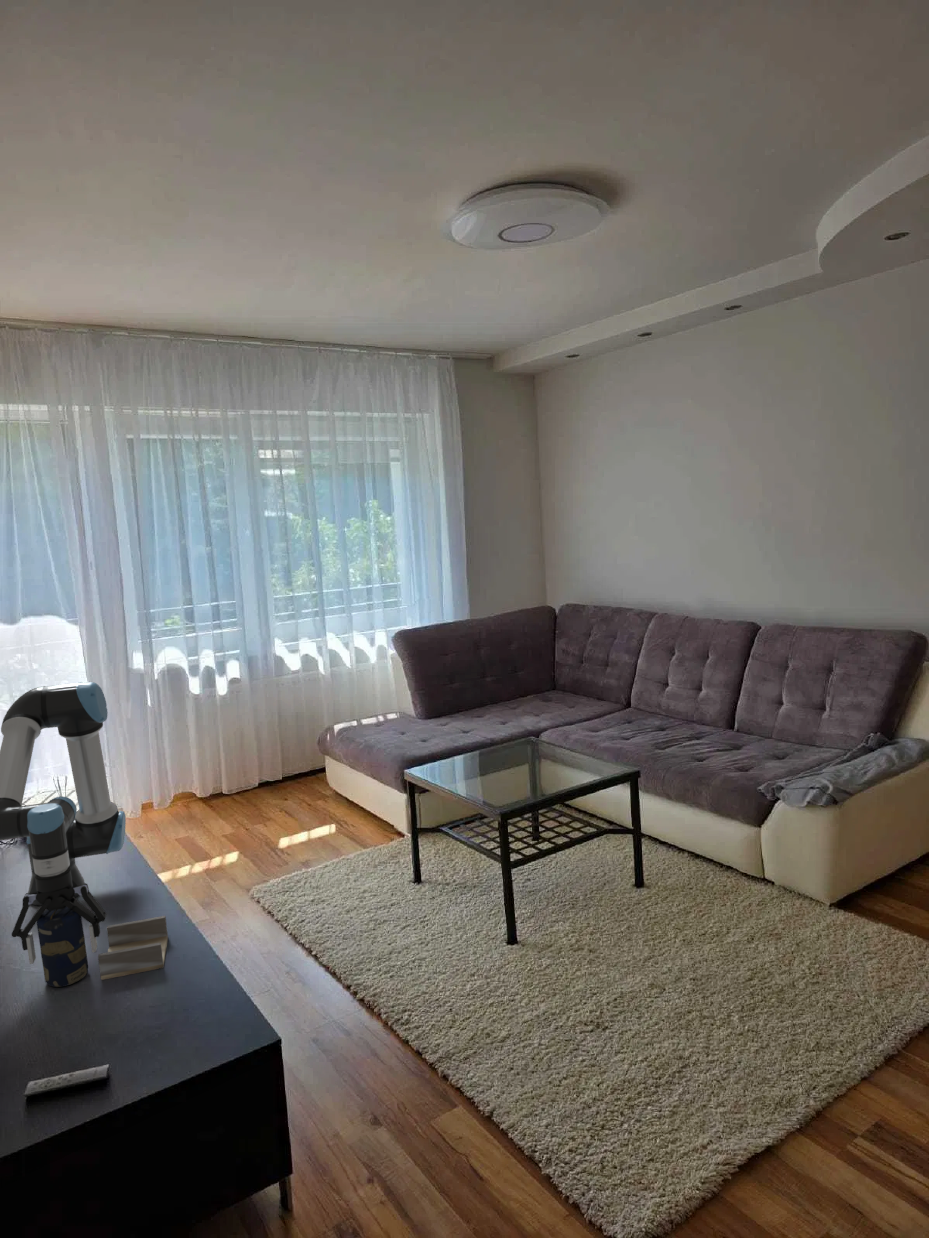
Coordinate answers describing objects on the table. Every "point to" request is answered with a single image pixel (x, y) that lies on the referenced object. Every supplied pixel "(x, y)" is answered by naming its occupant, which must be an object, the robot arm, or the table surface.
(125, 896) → the table surface
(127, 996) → the table surface
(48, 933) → the canister
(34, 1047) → the table surface
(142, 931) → the keeper cradle
